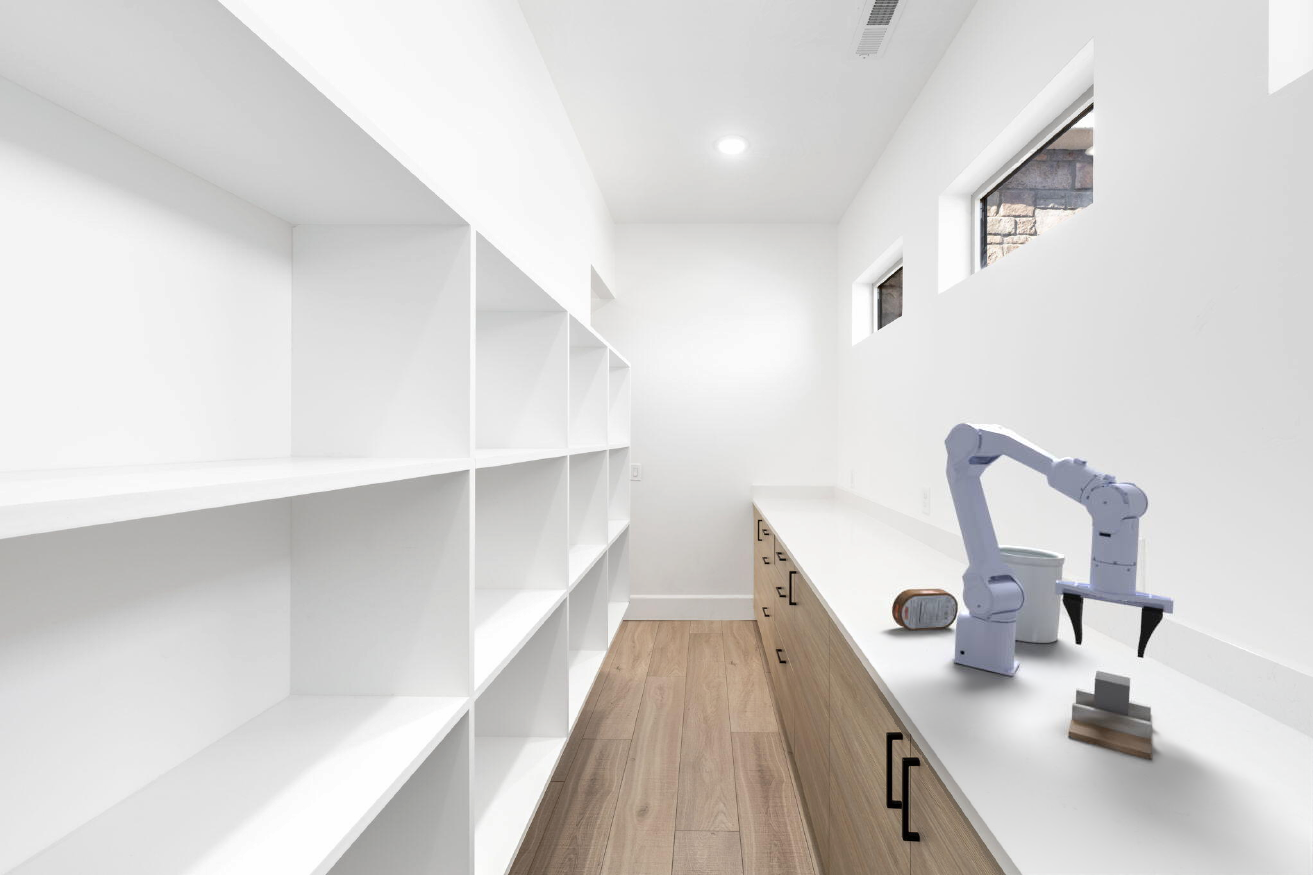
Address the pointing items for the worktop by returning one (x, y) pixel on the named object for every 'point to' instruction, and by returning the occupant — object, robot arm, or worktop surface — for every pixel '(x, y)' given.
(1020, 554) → the utensil holder
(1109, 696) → the grey rectangular block
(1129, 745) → the end holder
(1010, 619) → the robot arm
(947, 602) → the tin
